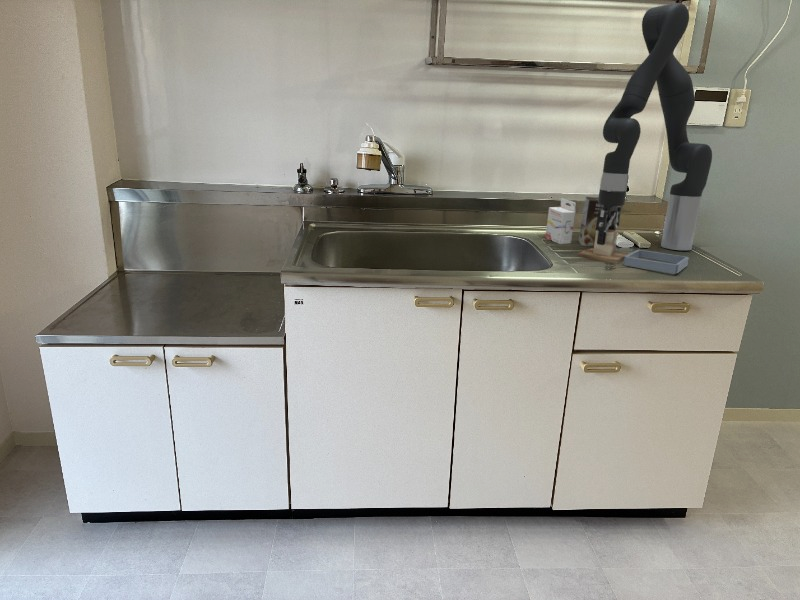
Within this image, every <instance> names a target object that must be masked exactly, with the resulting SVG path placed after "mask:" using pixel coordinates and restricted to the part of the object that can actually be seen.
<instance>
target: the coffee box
mask: <svg viewBox="0 0 800 600" xmlns="http://www.w3.org/2000/svg"><path fill="white" fill-rule="evenodd" d="M603 207H604V206H603V205H601V204H599V203H598V196H597V197H596V196H595V197H594V196H585V200H584V207H583V210H582V211H583V212H582V217H581V224H580V229H579V231H580V232H579V234H578V235H579V236H578V243H579V244H580V245H581V246H582V247H594V243H595V236H596V231H597V230H596V224H597V217H598V211H599V210H603ZM602 227H603V226H602ZM607 230H608V229H607Z"/></svg>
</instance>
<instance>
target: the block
mask: <svg viewBox="0 0 800 600" xmlns="http://www.w3.org/2000/svg"><path fill="white" fill-rule="evenodd" d="M618 233H619V230H607V232H606V240H605V244H604V245H598V244H597V238H598V231H596V236H595V243H594V246H593V248H594V250H593V254H599V255H605V256H611V255H613V254H615V252H616V248H617V240H618Z"/></svg>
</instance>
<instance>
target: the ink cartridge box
mask: <svg viewBox="0 0 800 600" xmlns="http://www.w3.org/2000/svg"><path fill="white" fill-rule="evenodd" d="M567 204H568V205H567ZM576 205H577V203H576V202H575V201H572V200H569V199H565V198H563V197H562V198H560V206H554V207H553V206H552V207H551V206H550V207H548V213H547V221H546V229H545V236H544V239H546V238H547V239H546V240H548V241H551V240H552V242H554V243H557V244H559V245H565V244H571V243H572V238H573V233H574V232H573V231H574V224H575V219H576V209H577V208H576Z"/></svg>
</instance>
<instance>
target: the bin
mask: <svg viewBox="0 0 800 600" xmlns="http://www.w3.org/2000/svg"><path fill="white" fill-rule="evenodd" d="M689 259H690V257H688V256H686V255H679V254H677V255H676V254H671V253H664V252H658V251H651V250H643V249H636V250H634V251H632V252H630V253H628V255H626V256H625V258H624V260H623V263H622V265H624V266H626V267H631V268H638V269H643V270H649V271H650V270H651V271H656V272H662V273H667V274H668V273H669V274H674V275H675V274H679V273H680V272H681V271H683V270H684V269H685V268H687V267H688V264H689Z"/></svg>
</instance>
